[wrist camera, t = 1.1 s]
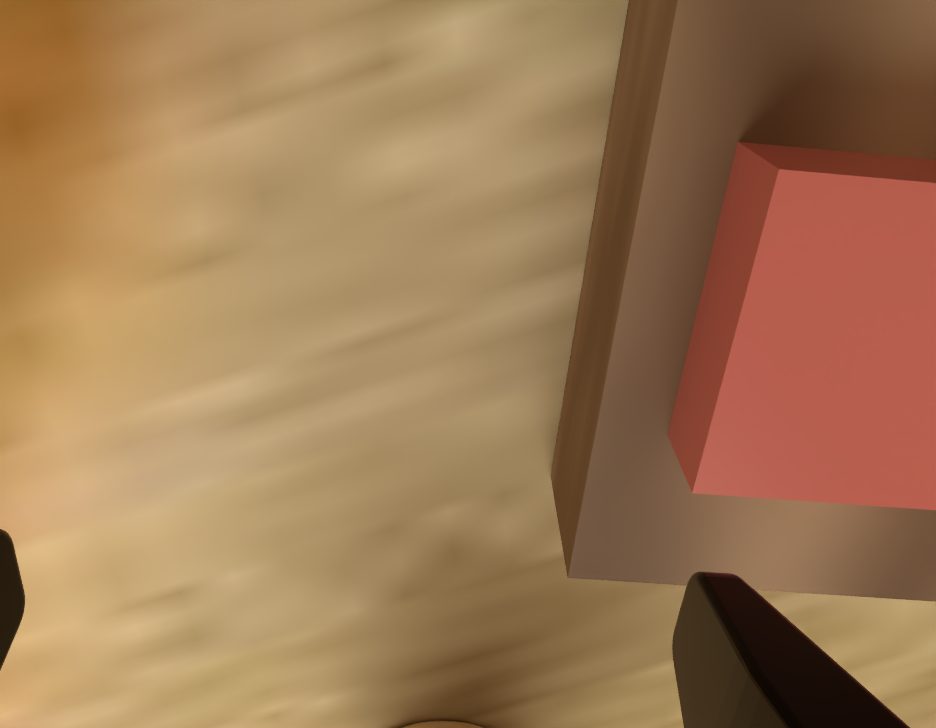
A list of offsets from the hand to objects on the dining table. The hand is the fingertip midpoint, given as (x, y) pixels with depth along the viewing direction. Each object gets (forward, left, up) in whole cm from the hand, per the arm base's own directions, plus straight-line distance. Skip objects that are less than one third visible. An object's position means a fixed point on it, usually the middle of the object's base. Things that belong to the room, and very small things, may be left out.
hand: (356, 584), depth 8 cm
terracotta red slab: (-10, 0, -8) cm, 13 cm away
